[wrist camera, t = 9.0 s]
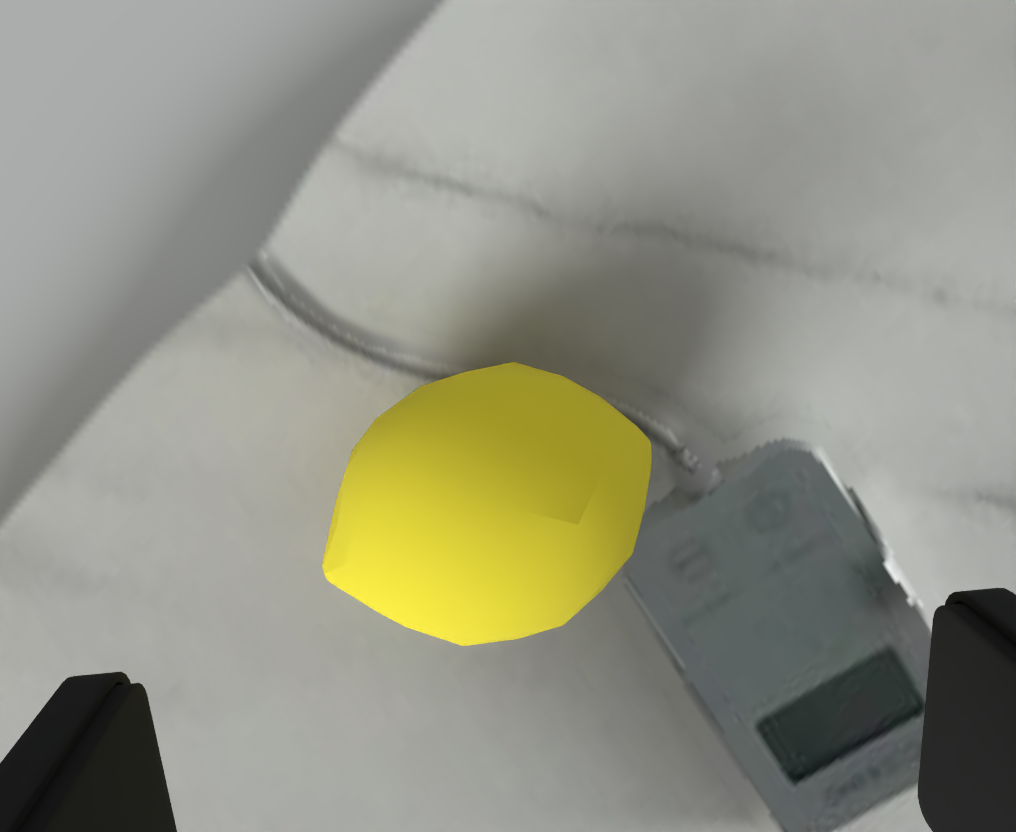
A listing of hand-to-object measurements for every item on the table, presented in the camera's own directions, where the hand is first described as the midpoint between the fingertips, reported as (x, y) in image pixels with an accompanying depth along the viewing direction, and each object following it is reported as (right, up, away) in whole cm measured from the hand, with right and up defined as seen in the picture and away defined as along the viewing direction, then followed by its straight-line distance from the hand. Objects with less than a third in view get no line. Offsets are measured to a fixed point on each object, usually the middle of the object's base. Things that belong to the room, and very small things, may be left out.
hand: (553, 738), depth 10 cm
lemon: (-1, +3, +9) cm, 10 cm away
